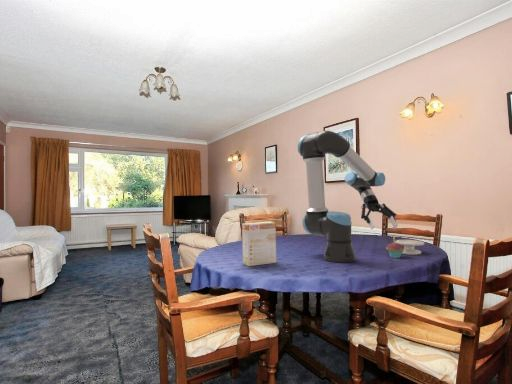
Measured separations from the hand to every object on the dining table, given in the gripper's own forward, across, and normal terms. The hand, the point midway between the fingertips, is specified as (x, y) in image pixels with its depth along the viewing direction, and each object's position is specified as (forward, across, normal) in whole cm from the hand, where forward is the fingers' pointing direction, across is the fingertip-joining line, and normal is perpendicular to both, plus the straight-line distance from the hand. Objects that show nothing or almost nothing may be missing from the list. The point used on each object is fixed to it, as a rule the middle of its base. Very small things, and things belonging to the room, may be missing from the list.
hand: (384, 227), depth 163 cm
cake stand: (+11, -13, -9) cm, 19 cm away
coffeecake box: (+16, +70, -4) cm, 72 cm away
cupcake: (+17, +1, -3) cm, 17 cm away
